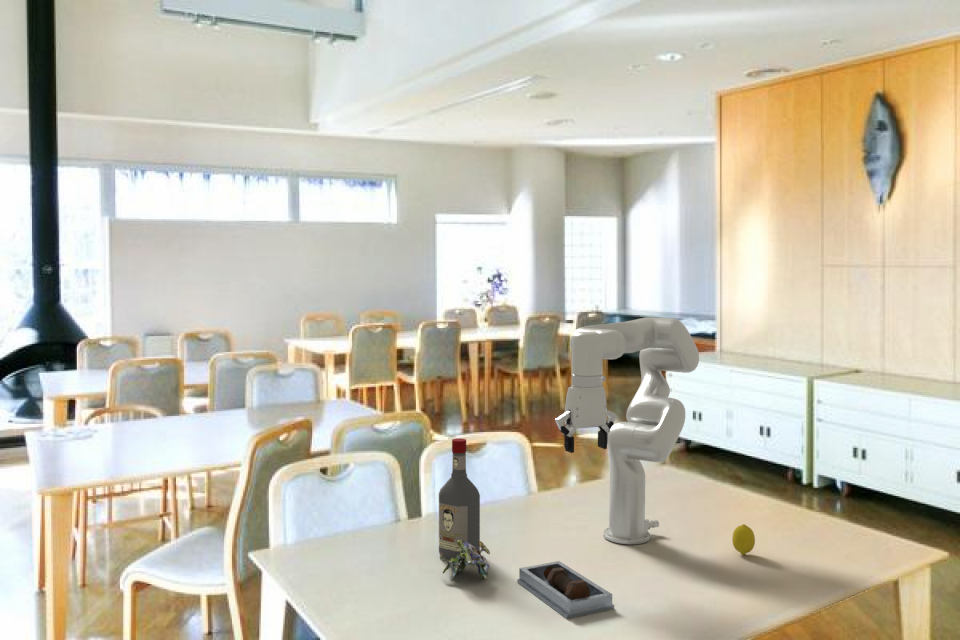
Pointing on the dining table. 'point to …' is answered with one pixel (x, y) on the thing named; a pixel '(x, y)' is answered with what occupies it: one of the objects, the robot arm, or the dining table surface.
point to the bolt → (566, 583)
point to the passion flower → (468, 559)
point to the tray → (557, 599)
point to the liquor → (458, 507)
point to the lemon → (743, 539)
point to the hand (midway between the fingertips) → (586, 449)
